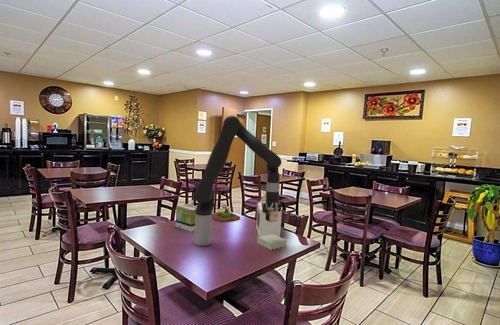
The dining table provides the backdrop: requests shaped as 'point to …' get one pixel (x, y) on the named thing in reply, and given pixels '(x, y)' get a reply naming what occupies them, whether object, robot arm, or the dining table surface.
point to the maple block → (273, 216)
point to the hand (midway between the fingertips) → (271, 219)
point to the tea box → (186, 217)
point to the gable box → (266, 226)
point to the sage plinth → (271, 241)
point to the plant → (225, 215)
